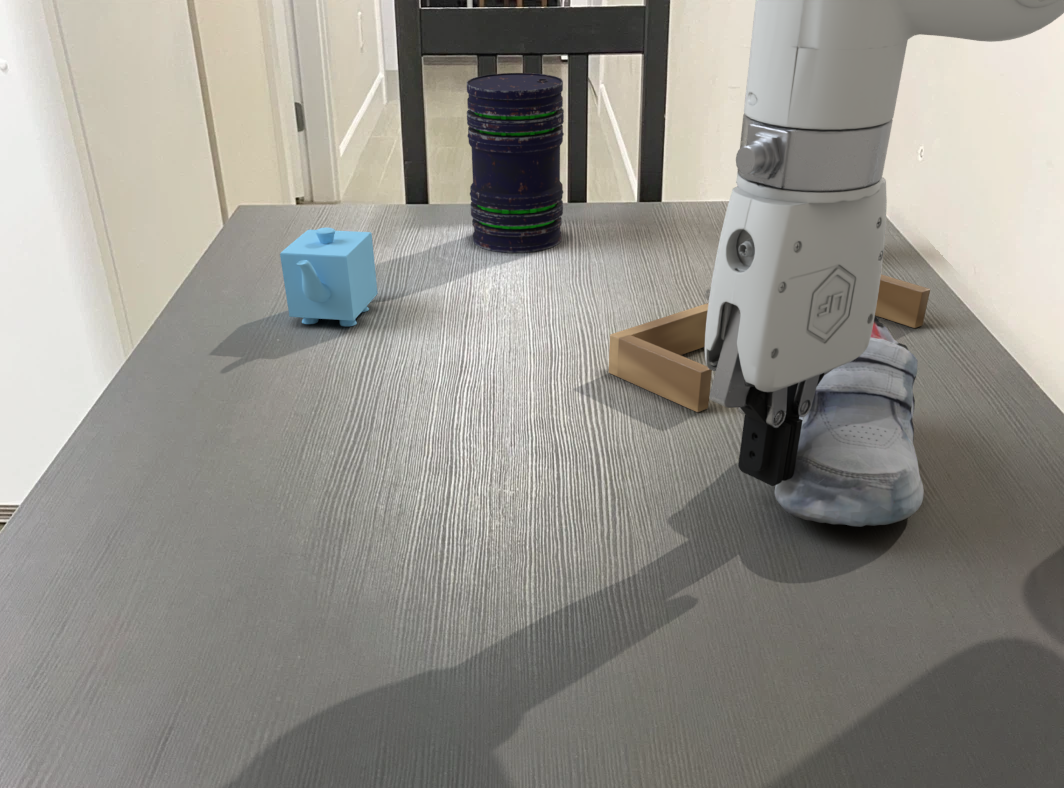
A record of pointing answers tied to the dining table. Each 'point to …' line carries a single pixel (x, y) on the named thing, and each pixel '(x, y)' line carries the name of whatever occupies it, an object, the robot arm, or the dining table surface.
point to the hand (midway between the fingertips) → (765, 474)
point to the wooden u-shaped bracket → (660, 343)
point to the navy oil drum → (516, 161)
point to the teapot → (329, 275)
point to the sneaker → (859, 442)
